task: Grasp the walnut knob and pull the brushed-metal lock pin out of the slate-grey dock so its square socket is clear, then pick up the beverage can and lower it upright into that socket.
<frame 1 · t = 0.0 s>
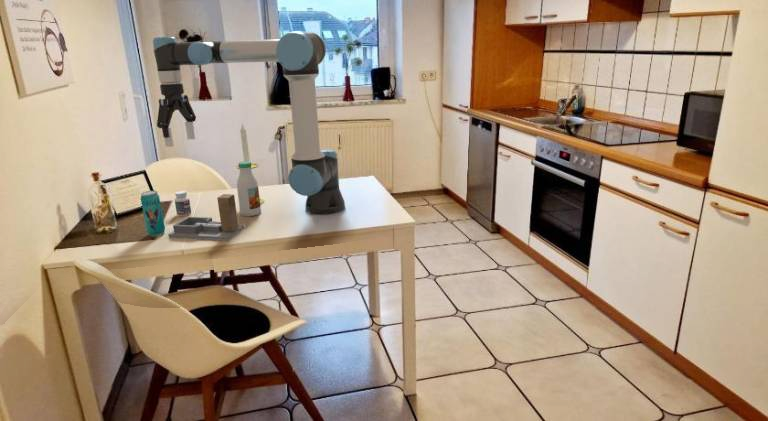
hand: (180, 142, 184), 28 cm above the table, fingers open, 13 cm apart
pill bottle: (184, 214, 194), on the table
milk bottle: (251, 214, 192), on the table
lock pin: (213, 212, 171), point 8 cm above the table, slide at 0.0 cm
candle: (252, 203, 205), on the table
beverage can: (157, 234, 174), on the table
dock: (194, 231, 175), on the table
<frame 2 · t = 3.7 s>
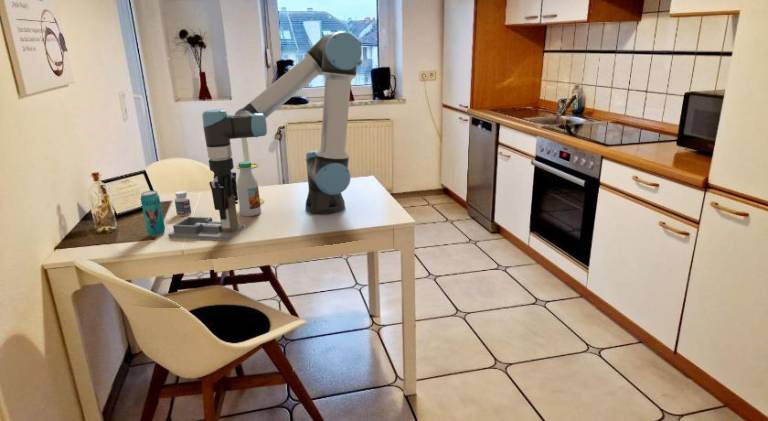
hand: (229, 225, 171), 3 cm above the table, fingers closed on lock pin, 4 cm apart
lock pin: (213, 212, 171), point 8 cm above the table, slide at 0.0 cm, touching gripper
everything else where it was.
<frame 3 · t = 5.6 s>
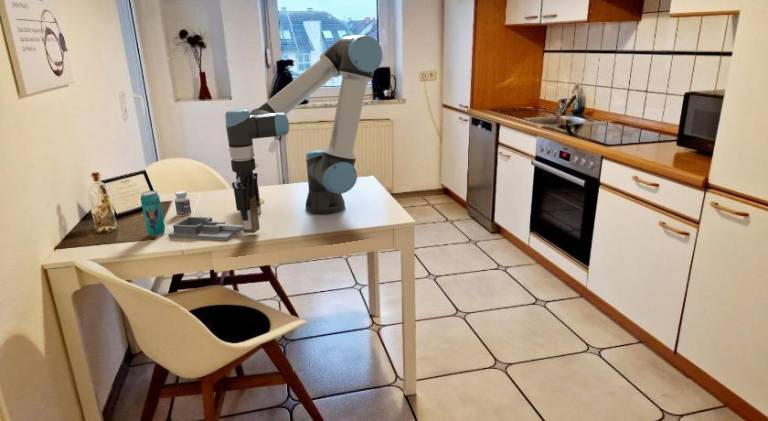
hand: (251, 226, 169), 3 cm above the table, fingers closed on lock pin, 4 cm apart
lock pin: (234, 213, 169), point 8 cm above the table, slide at 7.9 cm, touching gripper
everything else where it was.
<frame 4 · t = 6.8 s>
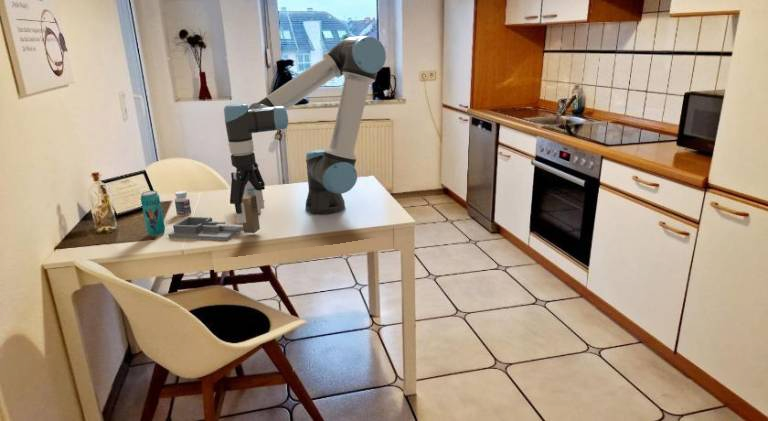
hand: (251, 215, 168), 7 cm above the table, fingers open, 13 cm apart
lock pin: (234, 213, 169), point 8 cm above the table, slide at 8.0 cm
everything else where it was.
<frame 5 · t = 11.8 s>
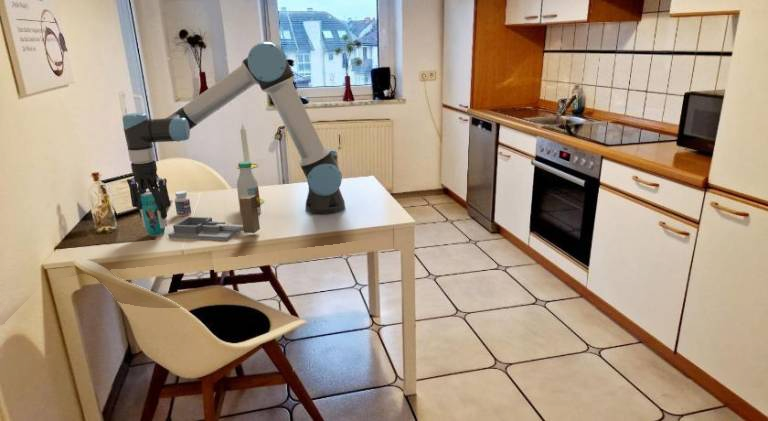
hand: (155, 226, 173), 3 cm above the table, fingers closed on beverage can, 6 cm apart
beverage can: (157, 234, 174), on the table, touching gripper
everything else where it was.
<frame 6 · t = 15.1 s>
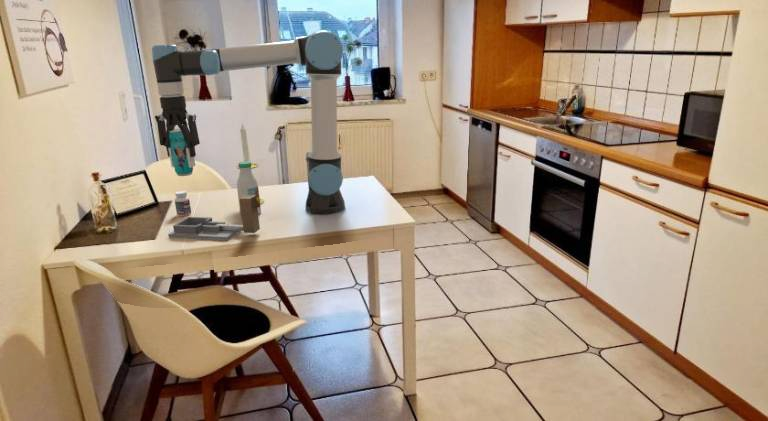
hand: (183, 166, 168), 23 cm above the table, fingers closed on beverage can, 6 cm apart
beverage can: (184, 175, 168), point 20 cm above the table, touching gripper
everything else where it was.
when the fingers open (6 cm above the table, at t = 18.5 s): beverage can drops 2 cm, resting on dock.
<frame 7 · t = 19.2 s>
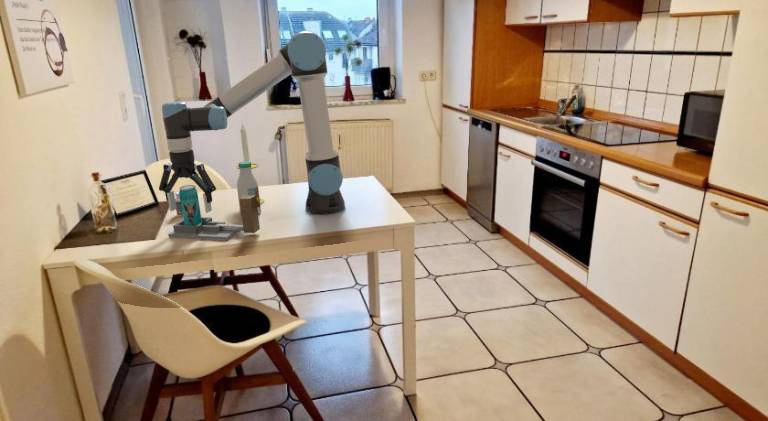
hand: (191, 210, 173), 8 cm above the table, fingers open, 13 cm apart
beverage can: (194, 228, 175), point 1 cm above the table, touching dock
everything else where it was.
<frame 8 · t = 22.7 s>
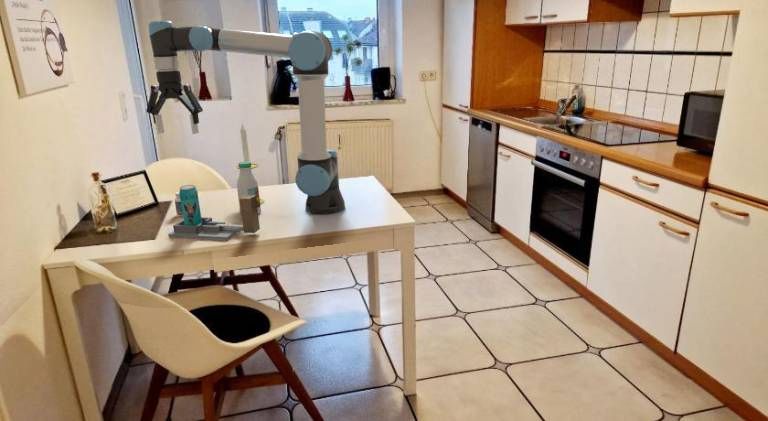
hand: (178, 133, 175), 33 cm above the table, fingers open, 13 cm apart
nothing on the table moved.
at the end: lock pin slide at 8.0 cm; beverage can 0.1 cm from the dock (horizontally); beverage can tilted 0° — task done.
